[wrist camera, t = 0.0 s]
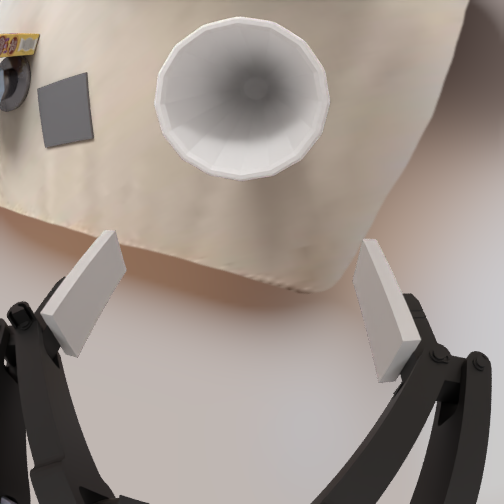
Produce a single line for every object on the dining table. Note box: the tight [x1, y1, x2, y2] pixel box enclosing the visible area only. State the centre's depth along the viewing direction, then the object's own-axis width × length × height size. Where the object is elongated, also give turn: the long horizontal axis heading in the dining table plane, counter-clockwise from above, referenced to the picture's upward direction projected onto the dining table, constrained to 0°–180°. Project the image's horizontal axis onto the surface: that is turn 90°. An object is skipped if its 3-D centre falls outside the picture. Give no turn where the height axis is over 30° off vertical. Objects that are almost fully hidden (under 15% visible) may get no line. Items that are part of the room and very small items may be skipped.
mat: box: [37, 72, 94, 148], centre depth 36 cm, size 11×11×1 cm
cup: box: [154, 16, 330, 181], centre depth 25 cm, size 12×12×22 cm
